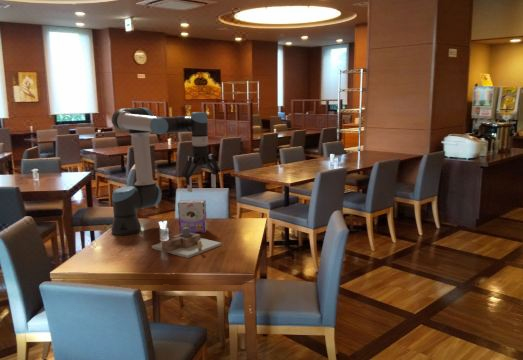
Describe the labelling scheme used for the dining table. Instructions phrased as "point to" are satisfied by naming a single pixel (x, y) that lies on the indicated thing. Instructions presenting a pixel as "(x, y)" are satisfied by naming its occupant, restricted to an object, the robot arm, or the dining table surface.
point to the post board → (192, 250)
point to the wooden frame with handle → (180, 242)
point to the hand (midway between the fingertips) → (202, 189)
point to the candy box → (192, 215)
